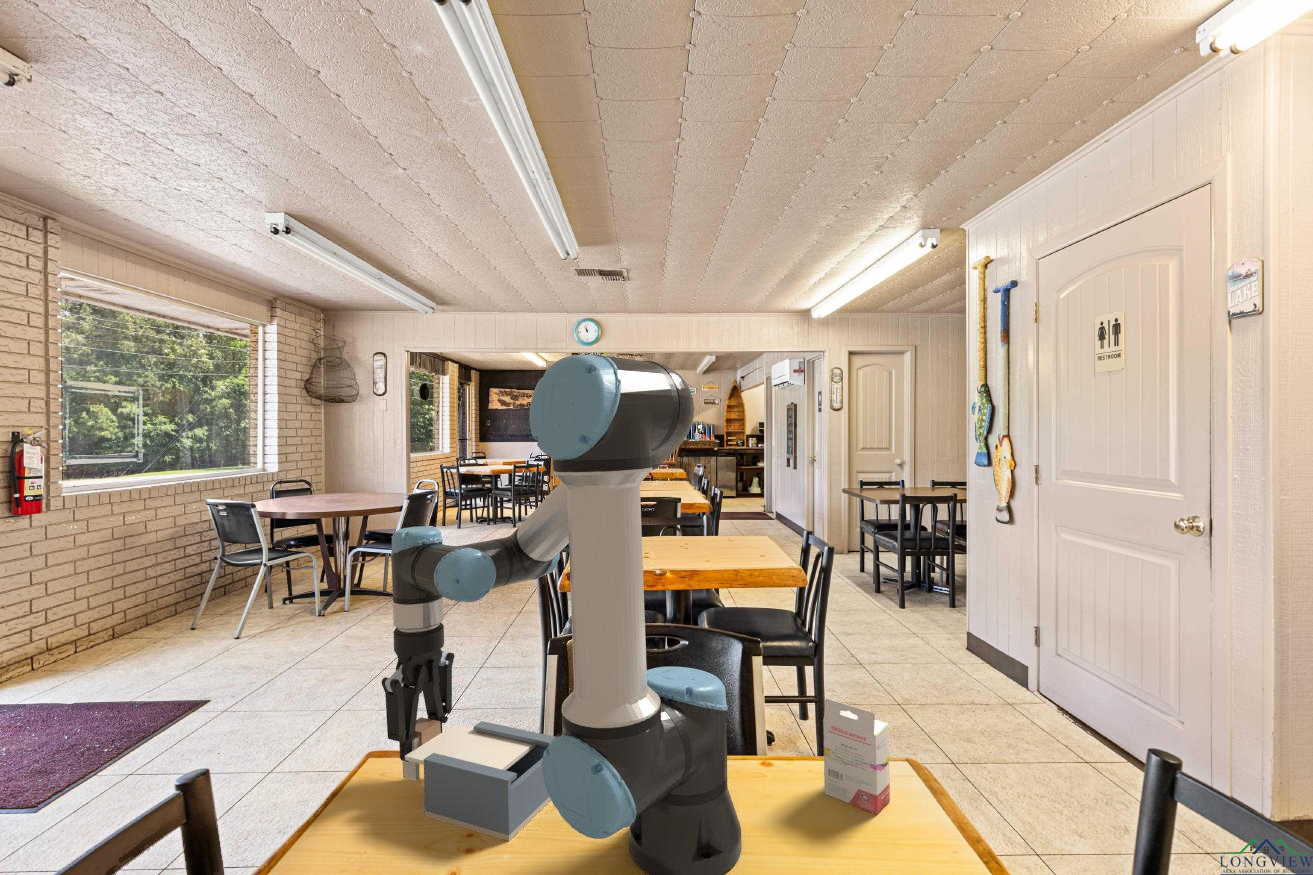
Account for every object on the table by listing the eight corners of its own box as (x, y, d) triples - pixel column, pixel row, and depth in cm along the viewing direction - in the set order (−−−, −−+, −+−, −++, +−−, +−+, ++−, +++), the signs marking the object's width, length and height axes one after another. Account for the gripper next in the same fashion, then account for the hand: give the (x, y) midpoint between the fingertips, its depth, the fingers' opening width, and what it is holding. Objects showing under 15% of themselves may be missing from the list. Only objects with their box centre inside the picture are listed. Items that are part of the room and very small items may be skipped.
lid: (536, 754, 100) (535, 729, 100) (491, 791, 90) (490, 763, 90) (436, 731, 108) (436, 708, 108) (385, 763, 98) (384, 737, 98)
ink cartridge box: (891, 800, 95) (890, 702, 95) (877, 816, 92) (876, 714, 92) (838, 779, 101) (837, 687, 101) (822, 793, 98) (821, 697, 97)
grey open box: (560, 790, 99) (559, 737, 99) (509, 841, 88) (507, 780, 87) (482, 771, 106) (481, 720, 105) (424, 815, 94) (423, 759, 93)
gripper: (438, 608, 111) (442, 741, 112) (357, 638, 95) (361, 793, 96) (473, 612, 108) (476, 749, 109) (394, 644, 92) (398, 805, 93)
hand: (422, 770), depth 102 cm, fingers closed on lid, 4 cm apart
